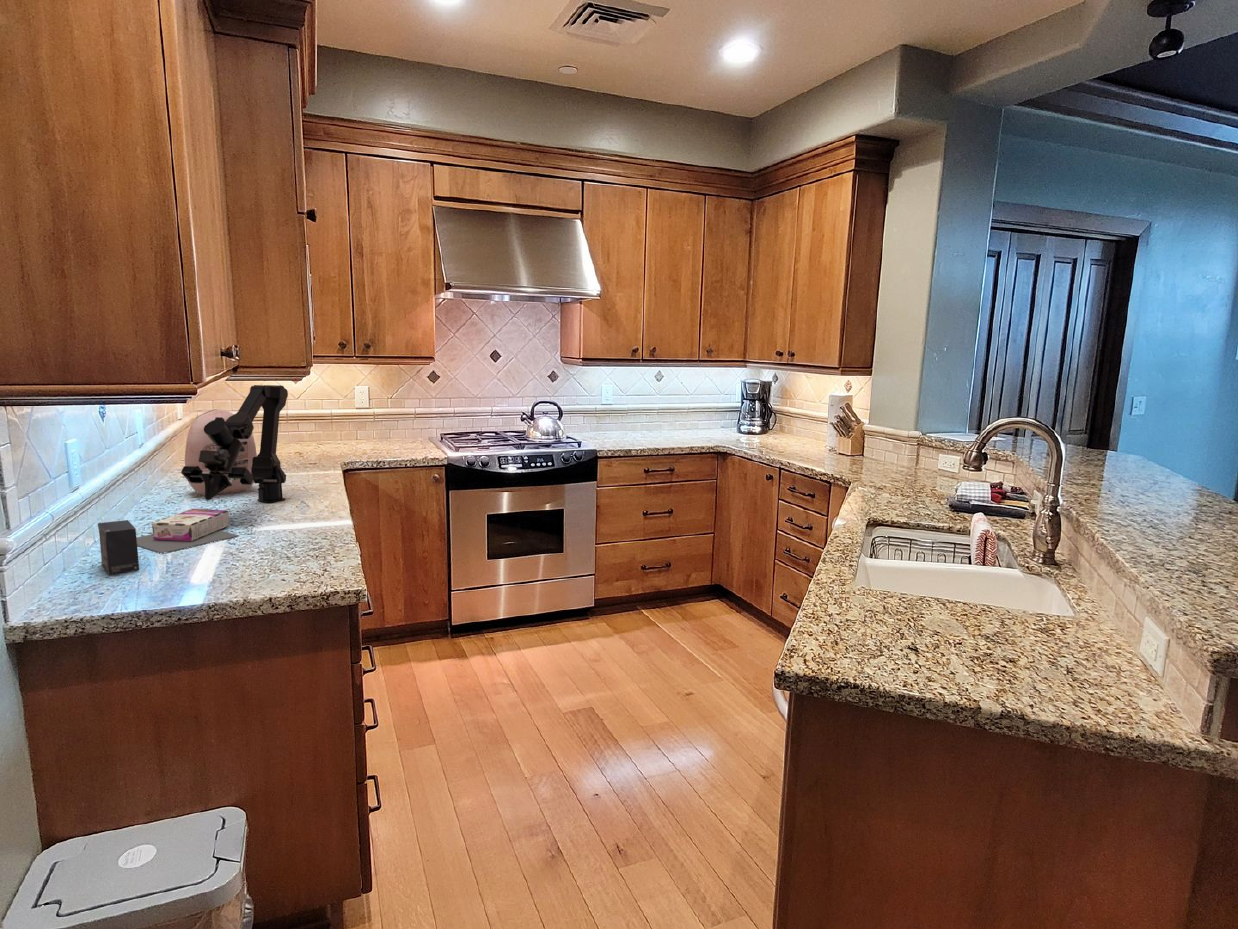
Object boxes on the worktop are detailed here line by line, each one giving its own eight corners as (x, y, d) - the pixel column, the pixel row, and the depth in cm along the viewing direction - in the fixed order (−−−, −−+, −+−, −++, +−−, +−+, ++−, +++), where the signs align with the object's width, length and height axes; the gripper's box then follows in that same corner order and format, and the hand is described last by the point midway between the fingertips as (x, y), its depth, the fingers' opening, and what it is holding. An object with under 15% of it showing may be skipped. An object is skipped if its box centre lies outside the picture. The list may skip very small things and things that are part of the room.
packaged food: (250, 485, 260) (244, 404, 255) (266, 494, 246) (260, 409, 241) (182, 492, 246) (174, 407, 240) (195, 502, 231) (187, 412, 226)
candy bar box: (194, 525, 204) (152, 540, 188) (192, 508, 203) (150, 522, 187) (230, 526, 203) (191, 542, 187) (229, 510, 202) (189, 524, 186)
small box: (141, 570, 165) (137, 527, 163) (108, 576, 161) (103, 532, 159) (133, 559, 173) (128, 518, 171) (100, 565, 168) (96, 522, 167)
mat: (199, 525, 204) (199, 524, 204) (238, 536, 194) (238, 535, 194) (123, 541, 187) (123, 540, 187) (161, 554, 177) (161, 553, 177)
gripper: (181, 438, 203) (159, 483, 194) (245, 439, 202) (226, 485, 194) (200, 460, 212) (180, 504, 203) (261, 461, 212) (244, 505, 203)
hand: (207, 499), depth 200 cm, fingers closed
